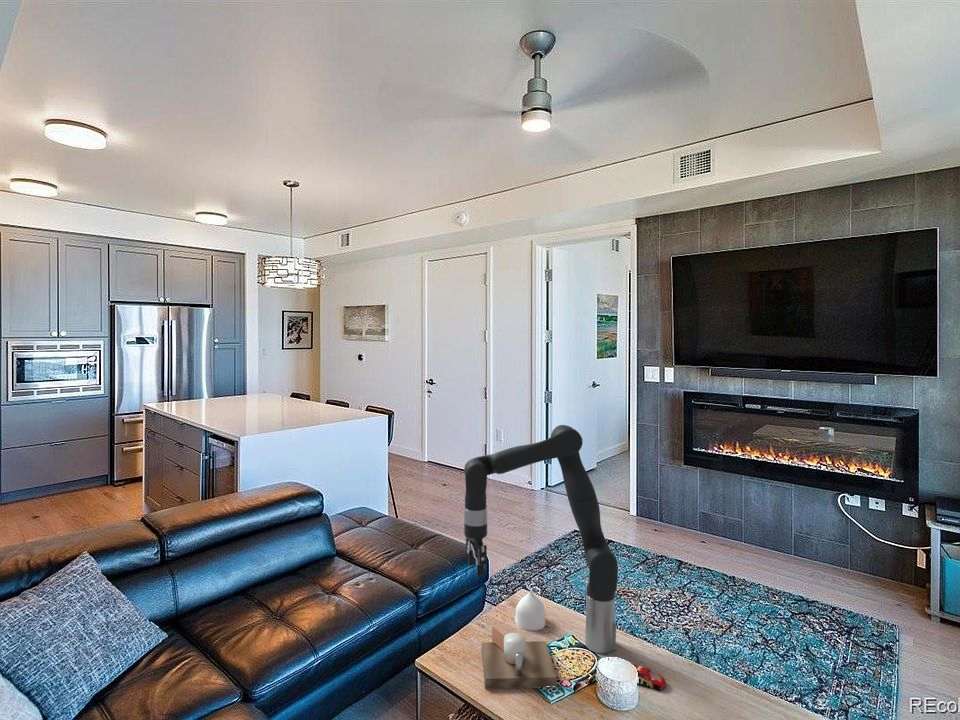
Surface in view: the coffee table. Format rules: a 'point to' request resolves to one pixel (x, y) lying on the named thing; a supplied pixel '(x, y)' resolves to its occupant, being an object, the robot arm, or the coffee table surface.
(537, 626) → the teardrop
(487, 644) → the base
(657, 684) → the race car
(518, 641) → the white cylinder with panel
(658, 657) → the coffee table surface
